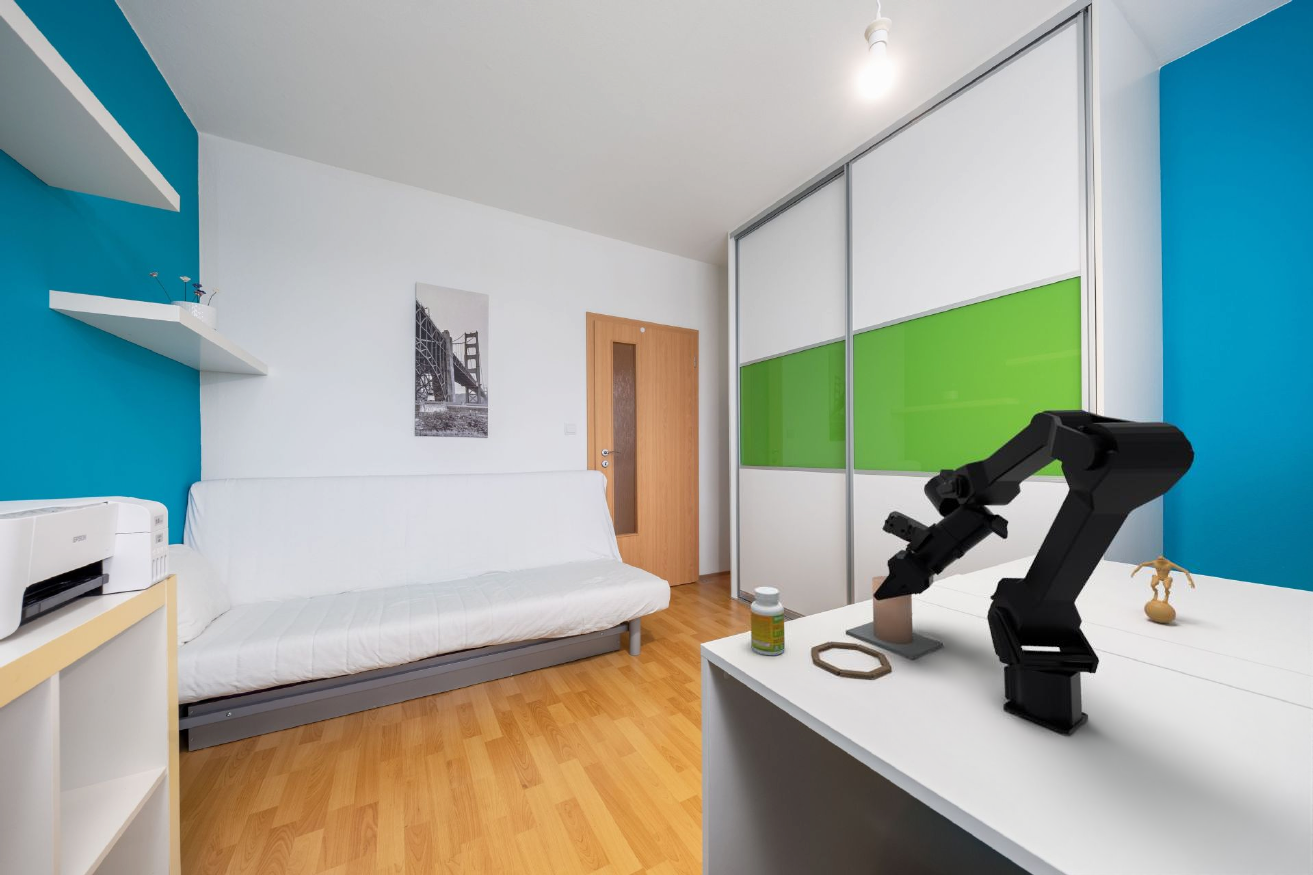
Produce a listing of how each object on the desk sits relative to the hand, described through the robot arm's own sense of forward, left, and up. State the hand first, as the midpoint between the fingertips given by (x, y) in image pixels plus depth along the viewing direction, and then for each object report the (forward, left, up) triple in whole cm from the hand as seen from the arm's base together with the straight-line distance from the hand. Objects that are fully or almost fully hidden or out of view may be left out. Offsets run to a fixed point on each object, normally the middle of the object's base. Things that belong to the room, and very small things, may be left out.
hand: (882, 591), depth 80 cm
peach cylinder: (-1, 0, -7) cm, 8 cm away
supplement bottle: (+8, +20, -8) cm, 23 cm away
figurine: (-23, -50, -8) cm, 56 cm away
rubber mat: (-1, 0, -8) cm, 8 cm away
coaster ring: (-2, +13, -8) cm, 15 cm away
